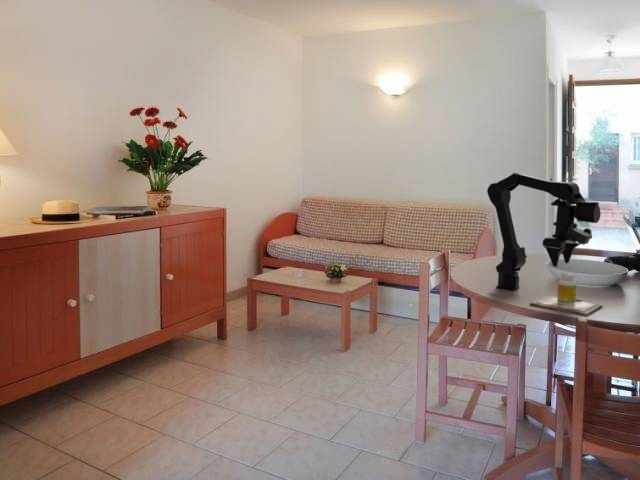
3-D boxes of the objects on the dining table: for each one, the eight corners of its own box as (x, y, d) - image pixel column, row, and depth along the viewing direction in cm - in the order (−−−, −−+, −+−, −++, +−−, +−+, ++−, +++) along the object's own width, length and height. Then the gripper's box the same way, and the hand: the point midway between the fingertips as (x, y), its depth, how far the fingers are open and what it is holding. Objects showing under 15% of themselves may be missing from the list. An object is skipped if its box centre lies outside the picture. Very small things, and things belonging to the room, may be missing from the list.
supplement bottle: (569, 306, 179) (571, 276, 178) (553, 302, 183) (555, 273, 182) (578, 303, 182) (580, 274, 181) (562, 300, 187) (564, 271, 185)
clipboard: (529, 305, 184) (530, 300, 184) (547, 297, 194) (547, 292, 194) (586, 316, 172) (587, 311, 172) (602, 307, 182) (602, 302, 182)
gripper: (578, 224, 177) (573, 273, 180) (600, 220, 190) (596, 265, 192) (543, 221, 185) (539, 267, 188) (567, 216, 198) (563, 259, 200)
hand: (561, 264), depth 192 cm, fingers open, 9 cm apart
